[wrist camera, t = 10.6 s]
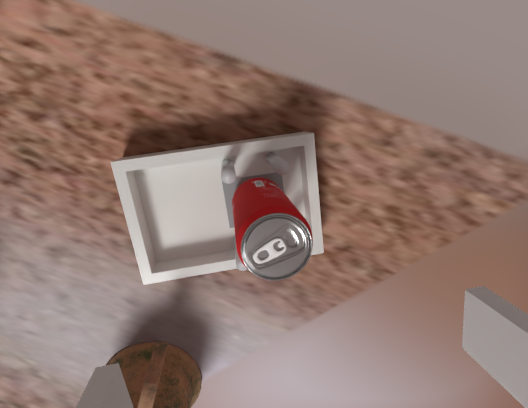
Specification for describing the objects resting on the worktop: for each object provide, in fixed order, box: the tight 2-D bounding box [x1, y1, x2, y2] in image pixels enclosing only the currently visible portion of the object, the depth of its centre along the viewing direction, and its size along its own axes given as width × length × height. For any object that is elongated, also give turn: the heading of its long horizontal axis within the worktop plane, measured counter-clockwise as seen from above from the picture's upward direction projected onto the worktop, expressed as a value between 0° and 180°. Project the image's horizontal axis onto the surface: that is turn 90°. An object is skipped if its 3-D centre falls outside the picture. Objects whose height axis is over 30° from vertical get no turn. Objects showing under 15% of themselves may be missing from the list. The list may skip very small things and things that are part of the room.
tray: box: [111, 132, 324, 285], centre depth 29 cm, size 18×12×7 cm, turn 97°
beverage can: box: [232, 178, 313, 281], centre depth 26 cm, size 5×5×12 cm
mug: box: [107, 341, 201, 408], centre depth 31 cm, size 12×18×12 cm, turn 163°
